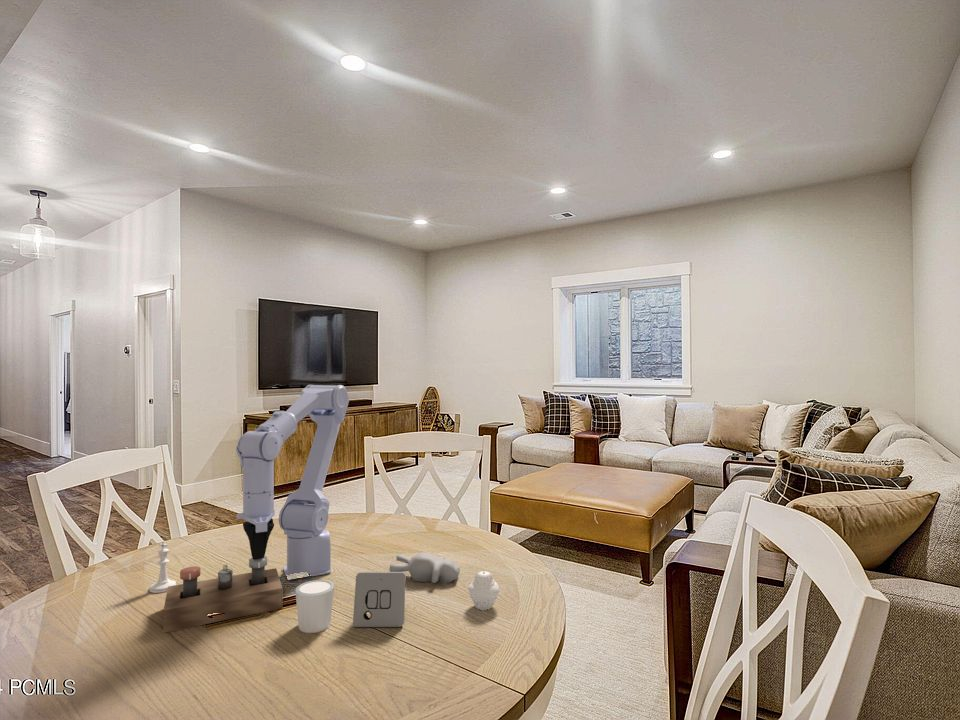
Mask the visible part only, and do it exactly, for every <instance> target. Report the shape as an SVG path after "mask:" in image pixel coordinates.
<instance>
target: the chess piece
mask: <svg viewBox="0 0 960 720" xmlns="http://www.w3.org/2000/svg"><path fill="white" fill-rule="evenodd" d="M158 546H159V547H161V549H159V550H158V551H157V554H158V555H159V560H158V561H157V564H158V565H160V569H159V574H158V575H159V576H158V580H156V582H154V583H152V584H151V585H150V587H149V592H150V593H152V594H160V593H162V594H163V593H167V589H168V587H169V586H174V585H177V582H176V580H173V579H170V578H169V577H168V571H167V570H168V569H167V564H168V563H169V562H170V560H169V559H167V558H168V555H169V554H168V553H169V552H170V549H168V548H167V547H168V546H169V544H168V543H166V541H165V540H162V541H161V543H159V544H158Z"/></svg>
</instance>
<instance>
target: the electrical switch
mask: <svg viewBox="0 0 960 720" xmlns="http://www.w3.org/2000/svg"><path fill="white" fill-rule="evenodd" d="M405 572H406V571H404V572H390V571H359V572H358V573H357V574H356V575H355V588H354V603H353V619H352V624H353V627H354V628H355V627H356V628H370V627H371V628H401V627H403V626H404V625H405V614H406V613H405V612H406V611H405V610H406V607H405V605H406V604H405V603H406V601H405V600H406V599H405V598H406V582H407V574H406V573H405ZM367 613H369V614H370V617H369V616H368V614H367Z"/></svg>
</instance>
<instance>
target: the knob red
mask: <svg viewBox="0 0 960 720" xmlns="http://www.w3.org/2000/svg"><path fill="white" fill-rule="evenodd" d="M200 576H201V567H200V566H189V567H185V568H183V569H181V570H180V571H179V579H180V580H182V584H183V598H188V597H193V596H197V582H198V578H199V577H200Z"/></svg>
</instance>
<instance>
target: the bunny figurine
mask: <svg viewBox="0 0 960 720" xmlns="http://www.w3.org/2000/svg"><path fill="white" fill-rule="evenodd" d="M395 559H396V560H395V561H398V562H401V563H391V564H390V565H389V568H388V569H389V570H388V572H408V573H409V575H410V576H411V578H412V580H413V581H415V582H420V583H428V582H431V583H432V584H437V582H440V583H443V584H450V583H451V582H453V581H454V580H458V578H459V575H460V572H461V566H460V565H458V564H457V563H456V561H455V560H453V559H452V558H448V557H447V558H445V557H443V556H436V555H435V554H433V553H430V552H425V551H424V552H418V553H417V554H415V555H414V556H412V557H409V556H407V555H404V554H402V553H401V554H397V555H396V558H395Z"/></svg>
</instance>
